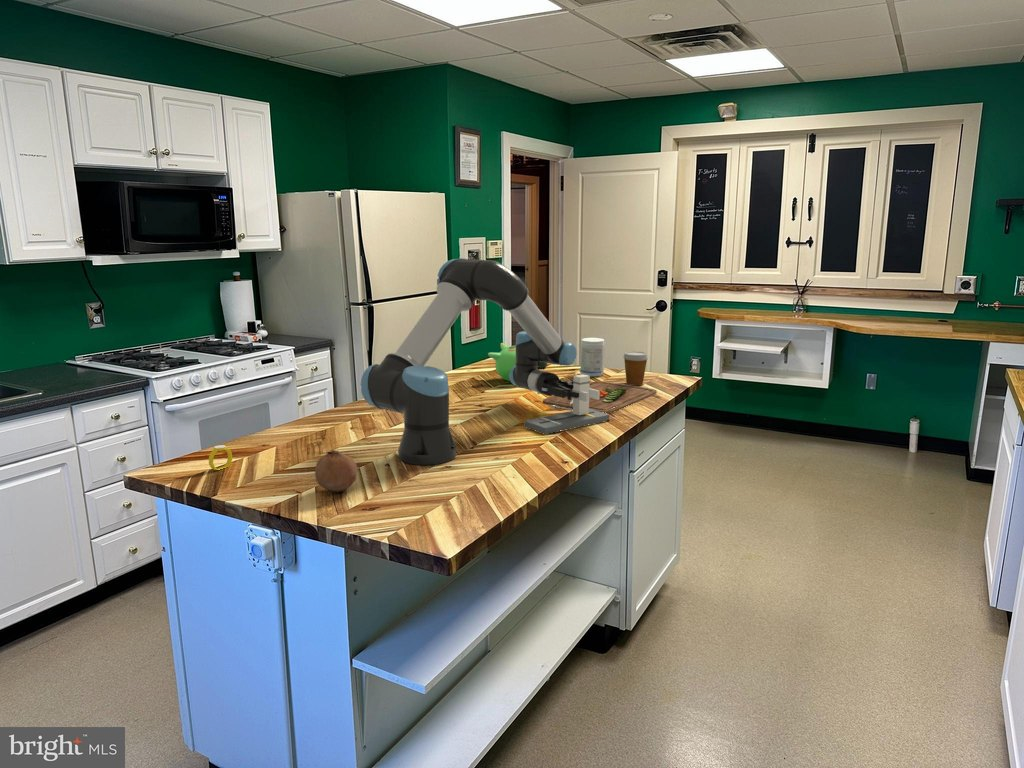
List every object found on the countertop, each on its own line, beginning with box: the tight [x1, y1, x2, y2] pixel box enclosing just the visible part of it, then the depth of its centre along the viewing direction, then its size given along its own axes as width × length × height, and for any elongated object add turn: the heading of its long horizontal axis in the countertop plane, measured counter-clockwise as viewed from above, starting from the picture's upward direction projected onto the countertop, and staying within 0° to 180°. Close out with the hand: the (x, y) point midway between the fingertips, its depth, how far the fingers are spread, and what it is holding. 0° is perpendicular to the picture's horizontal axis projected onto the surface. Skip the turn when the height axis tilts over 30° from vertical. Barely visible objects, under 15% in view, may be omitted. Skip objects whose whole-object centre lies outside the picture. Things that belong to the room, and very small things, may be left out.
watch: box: [208, 444, 233, 471], centre depth 177 cm, size 6×3×6 cm, turn 150°
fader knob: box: [573, 374, 591, 415], centre depth 221 cm, size 4×3×12 cm
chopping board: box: [542, 381, 658, 414], centre depth 254 cm, size 45×27×3 cm, turn 145°
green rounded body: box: [487, 342, 516, 382], centre depth 279 cm, size 18×17×15 cm
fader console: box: [523, 409, 610, 435], centre depth 220 cm, size 26×10×2 cm, turn 127°
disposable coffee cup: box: [622, 350, 649, 386], centre depth 275 cm, size 10×10×12 cm
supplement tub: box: [580, 337, 605, 378], centre depth 291 cm, size 10×10×15 cm
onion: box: [314, 449, 359, 493], centre depth 162 cm, size 10×9×10 cm
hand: (592, 396), depth 217 cm, fingers closed on fader knob, 4 cm apart
